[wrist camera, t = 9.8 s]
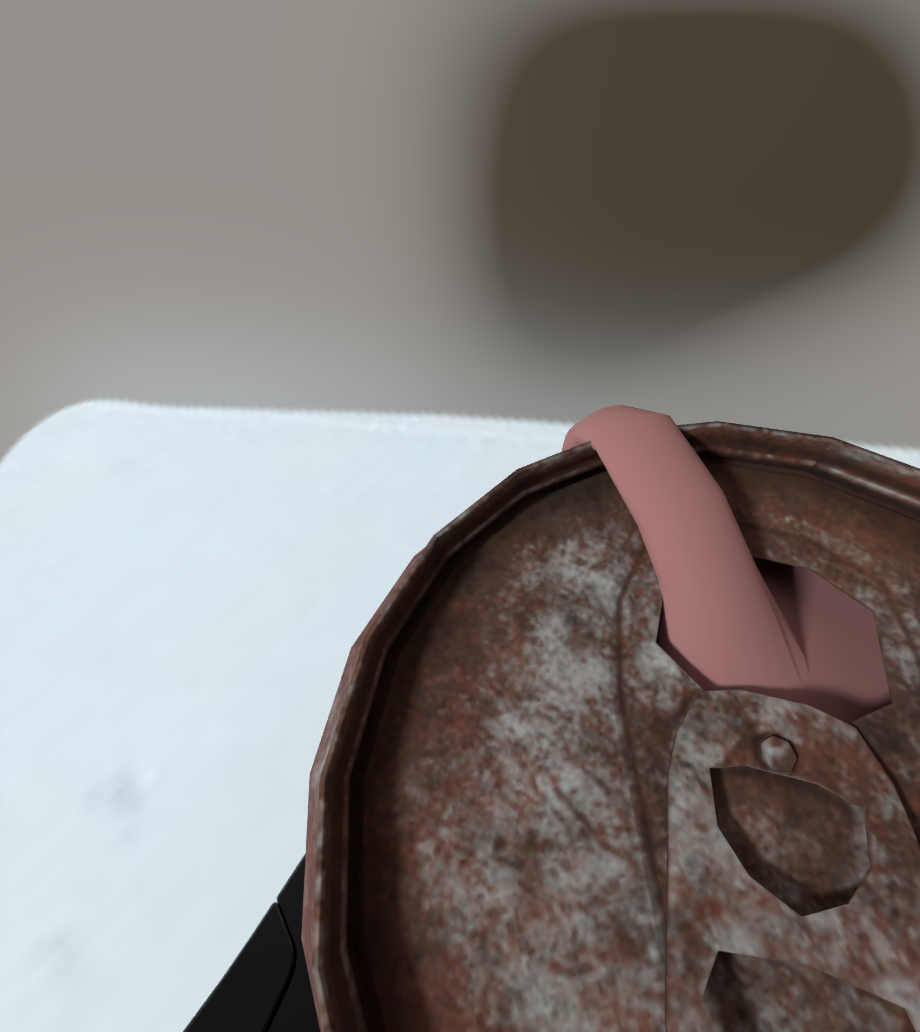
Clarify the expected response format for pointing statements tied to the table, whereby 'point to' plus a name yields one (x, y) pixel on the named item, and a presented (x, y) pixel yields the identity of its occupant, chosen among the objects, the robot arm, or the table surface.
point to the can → (634, 750)
